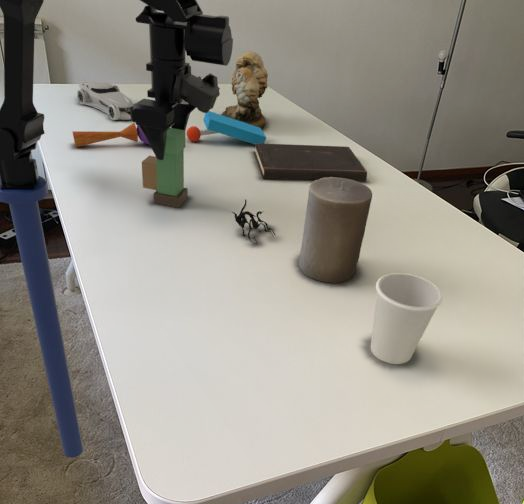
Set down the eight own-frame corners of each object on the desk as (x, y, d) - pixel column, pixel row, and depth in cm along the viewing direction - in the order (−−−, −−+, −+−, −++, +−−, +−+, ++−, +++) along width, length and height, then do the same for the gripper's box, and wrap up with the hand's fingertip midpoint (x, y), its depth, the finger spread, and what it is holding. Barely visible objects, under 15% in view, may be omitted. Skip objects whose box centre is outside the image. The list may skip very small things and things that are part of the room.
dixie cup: (359, 364, 73) (375, 301, 66) (362, 327, 79) (377, 267, 73) (423, 375, 72) (445, 313, 66) (420, 338, 78) (440, 278, 72)
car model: (115, 122, 138) (113, 101, 135) (68, 97, 151) (66, 77, 148) (152, 116, 145) (152, 96, 142) (104, 92, 158) (103, 73, 155)
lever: (251, 154, 142) (183, 133, 135) (260, 127, 138) (191, 105, 131) (256, 164, 137) (186, 143, 130) (266, 137, 133) (194, 114, 126)
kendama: (70, 123, 124) (158, 114, 129) (76, 151, 127) (162, 141, 132) (71, 126, 119) (163, 117, 124) (78, 155, 122) (166, 144, 127)
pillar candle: (367, 276, 90) (388, 189, 81) (319, 288, 86) (335, 198, 77) (333, 249, 97) (349, 165, 87) (286, 259, 92) (297, 172, 83)
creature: (279, 235, 101) (240, 216, 102) (288, 210, 98) (248, 191, 98) (263, 253, 95) (223, 233, 96) (273, 228, 92) (231, 207, 93)
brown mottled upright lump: (218, 110, 154) (220, 41, 143) (259, 112, 156) (265, 44, 145) (224, 131, 140) (227, 57, 130) (269, 133, 142) (276, 60, 132)
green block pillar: (120, 164, 102) (163, 123, 95) (132, 156, 105) (174, 115, 99) (166, 217, 106) (211, 181, 99) (176, 207, 110) (219, 171, 103)
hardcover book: (254, 152, 130) (254, 143, 129) (347, 156, 134) (349, 146, 132) (263, 179, 118) (264, 169, 117) (365, 182, 122) (367, 172, 120)
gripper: (194, 76, 82) (194, 177, 92) (231, 53, 96) (227, 143, 106) (125, 65, 84) (132, 166, 94) (171, 44, 98) (173, 133, 108)
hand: (170, 151), depth 100 cm, fingers open, 9 cm apart
